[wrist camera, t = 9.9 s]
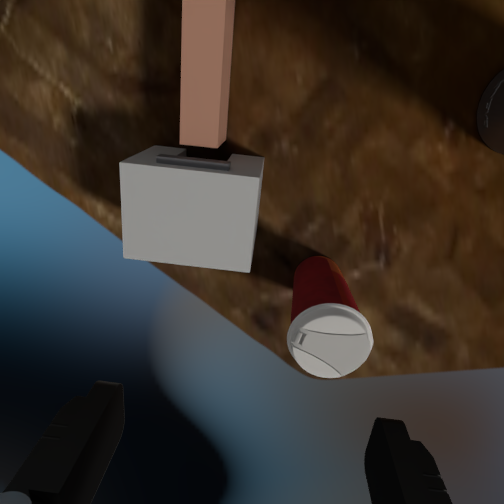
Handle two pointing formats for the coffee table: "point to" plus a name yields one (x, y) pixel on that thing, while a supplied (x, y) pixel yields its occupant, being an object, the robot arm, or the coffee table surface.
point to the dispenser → (190, 208)
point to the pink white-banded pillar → (205, 71)
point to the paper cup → (326, 321)
